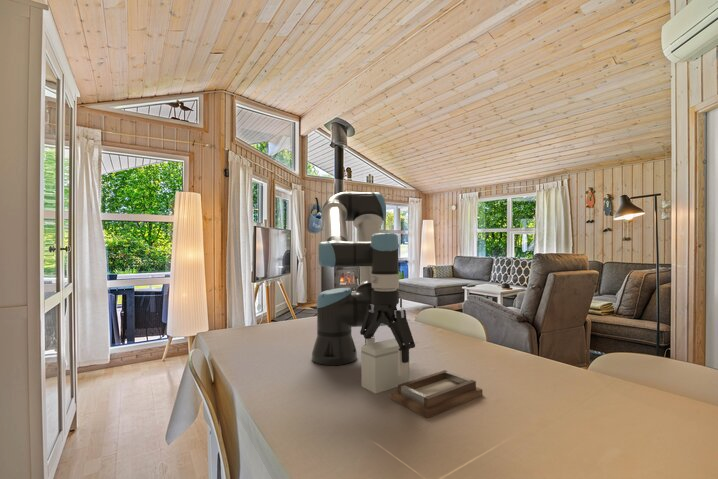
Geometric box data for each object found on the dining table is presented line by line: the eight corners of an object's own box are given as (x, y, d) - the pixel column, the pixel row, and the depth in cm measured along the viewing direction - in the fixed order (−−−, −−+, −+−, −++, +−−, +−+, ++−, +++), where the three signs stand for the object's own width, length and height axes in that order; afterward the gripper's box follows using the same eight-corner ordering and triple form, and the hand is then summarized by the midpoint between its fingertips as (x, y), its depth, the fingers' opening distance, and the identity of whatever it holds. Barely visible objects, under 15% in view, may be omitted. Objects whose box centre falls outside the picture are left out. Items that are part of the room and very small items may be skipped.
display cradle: (391, 399, 87) (391, 384, 88) (445, 380, 99) (445, 368, 99) (427, 418, 78) (427, 402, 78) (482, 395, 90) (482, 381, 90)
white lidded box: (361, 386, 96) (361, 345, 96) (394, 376, 103) (394, 338, 103) (375, 393, 91) (375, 350, 91) (409, 383, 98) (409, 343, 98)
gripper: (348, 286, 105) (348, 358, 105) (406, 294, 85) (407, 384, 84) (368, 285, 110) (368, 354, 109) (428, 292, 89) (429, 377, 89)
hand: (385, 367), depth 97 cm, fingers open, 13 cm apart
